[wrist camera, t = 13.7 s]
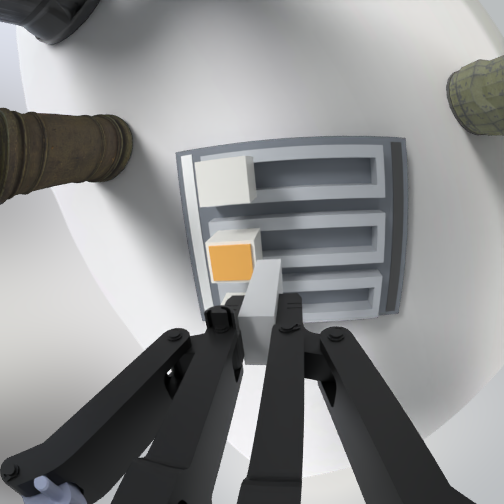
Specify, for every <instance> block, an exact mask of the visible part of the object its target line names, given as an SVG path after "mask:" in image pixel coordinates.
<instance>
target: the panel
mask: <svg viewBox="0 0 504 504" xmlns="http://www.w3.org/2000/svg"><path fill="white" fill-rule="evenodd" d="M176 161H177V170H178V178H179V186H180V194H181V201H182V208H183V215H184V222H185V228H186V235H187V241H188V247H189V253H190V259H191V264H192V270H193V275H194V281H195V286H196V291H197V296H198V301H199V306H200V311H201V316H202V320H203V321H205V316H204V312H205V311H206V310H207V309H209V308H210V307H213V306H218V305H225V303H226V301H227V300H228V299H229V298H230V297H231V296H232V295H245V294H246V291H247V288H248V285H249V282H246V283H211V277H210V271H209V265H208V258H207V252H206V245H205V242H206V241H207V240H208V239H210V238H211V237H212V236H213V235H214V234H215V233H216V232H217V231H220V230H234V229H250V228H260V233H261V244H262V255H263V260H267V259H281V267H282V283H283V293H298V294H299V295H300V296H301V297H302V314H303V323H307V322H328V321H344V320H357V319H369V318H378V316H379V315H389V314H398V313H399V307H400V300H401V293H402V286H403V278H404V268H405V258H406V245H407V227H408V169H407V152H406V139H405V138H399V137H377V136H320V137H298V138H282V139H270V140H259V141H250V142H241V143H233V144H225V145H218V146H211V147H205V148H199V149H193V150H187V151H182V152H176Z"/></svg>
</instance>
